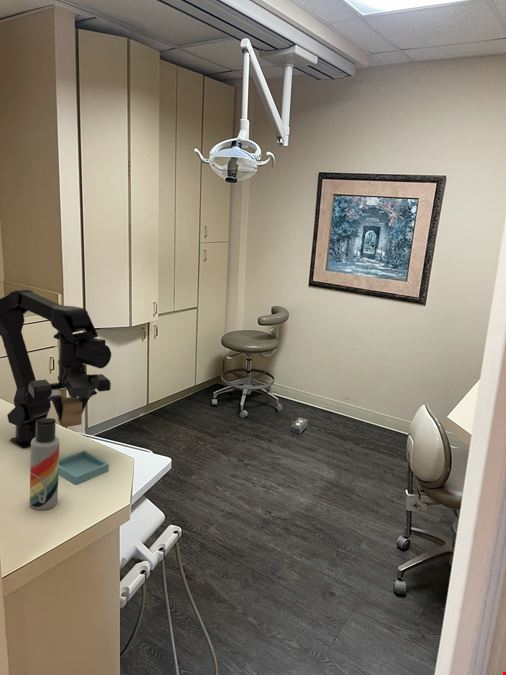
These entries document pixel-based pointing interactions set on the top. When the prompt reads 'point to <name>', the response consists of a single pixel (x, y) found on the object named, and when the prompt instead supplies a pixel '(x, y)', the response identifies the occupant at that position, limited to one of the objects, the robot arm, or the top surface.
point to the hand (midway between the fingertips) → (69, 417)
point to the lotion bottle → (44, 465)
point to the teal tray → (81, 467)
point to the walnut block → (71, 412)
